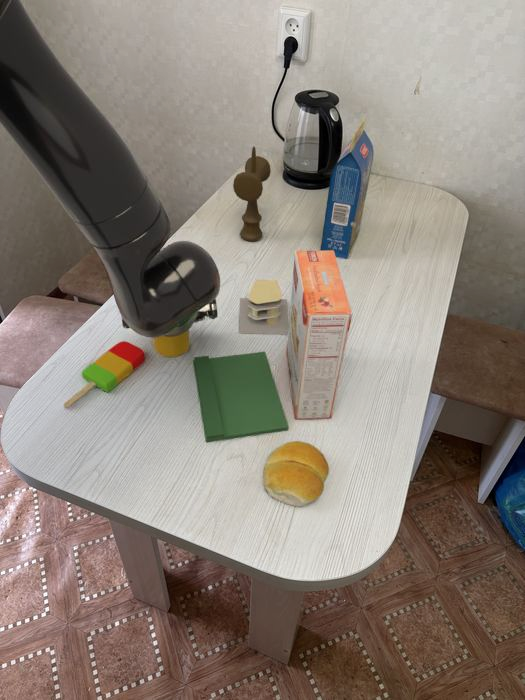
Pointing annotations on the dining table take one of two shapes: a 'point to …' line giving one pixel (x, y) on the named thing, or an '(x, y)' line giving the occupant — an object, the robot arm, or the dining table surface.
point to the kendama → (252, 194)
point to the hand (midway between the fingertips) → (170, 317)
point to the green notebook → (238, 396)
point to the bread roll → (295, 473)
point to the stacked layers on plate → (264, 310)
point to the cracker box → (316, 333)
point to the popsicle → (110, 369)
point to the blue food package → (347, 195)
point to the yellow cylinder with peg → (172, 345)
